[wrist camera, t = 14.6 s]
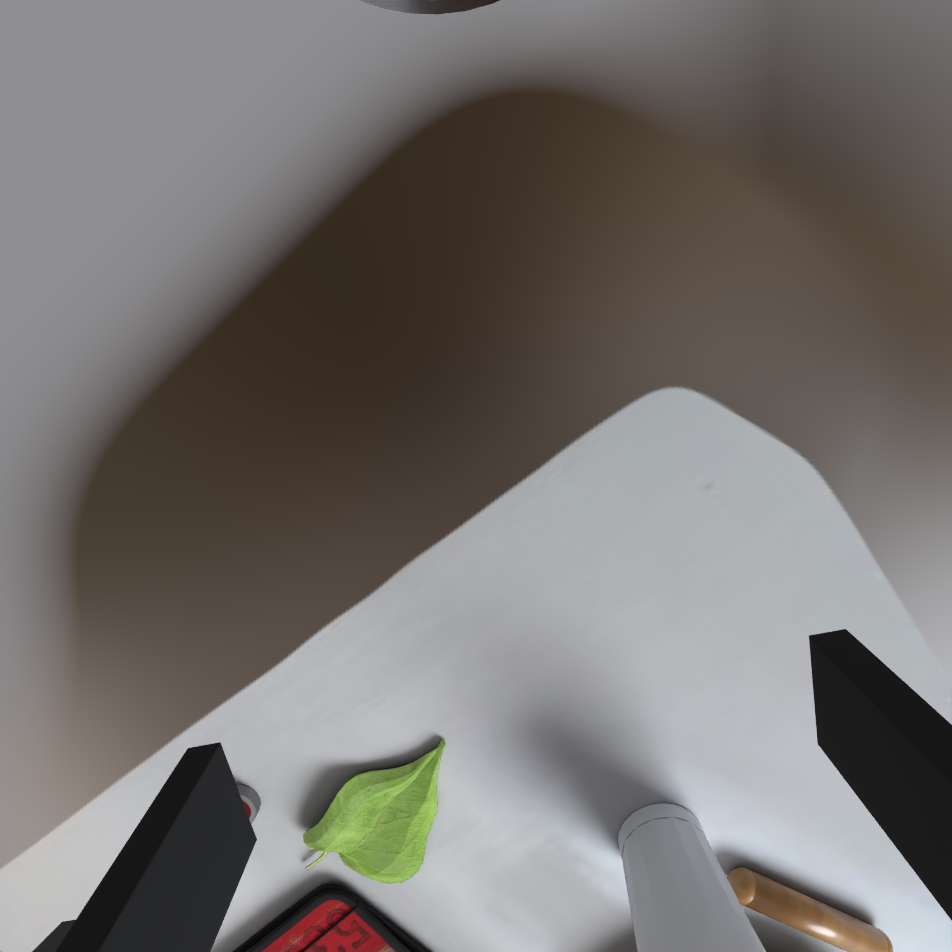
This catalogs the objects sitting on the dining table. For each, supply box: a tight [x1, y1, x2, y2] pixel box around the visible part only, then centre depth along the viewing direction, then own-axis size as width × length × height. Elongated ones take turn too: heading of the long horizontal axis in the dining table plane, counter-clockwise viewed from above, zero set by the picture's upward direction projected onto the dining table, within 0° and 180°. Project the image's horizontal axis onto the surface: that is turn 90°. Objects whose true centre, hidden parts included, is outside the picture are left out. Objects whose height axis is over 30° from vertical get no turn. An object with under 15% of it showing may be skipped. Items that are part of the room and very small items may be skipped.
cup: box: [618, 803, 766, 952], centre depth 42 cm, size 8×8×12 cm
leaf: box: [303, 738, 445, 884], centre depth 46 cm, size 9×16×2 cm, turn 134°
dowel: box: [728, 868, 893, 952], centre depth 48 cm, size 14×2×2 cm, turn 62°
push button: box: [236, 784, 261, 823], centre depth 46 cm, size 3×3×2 cm
